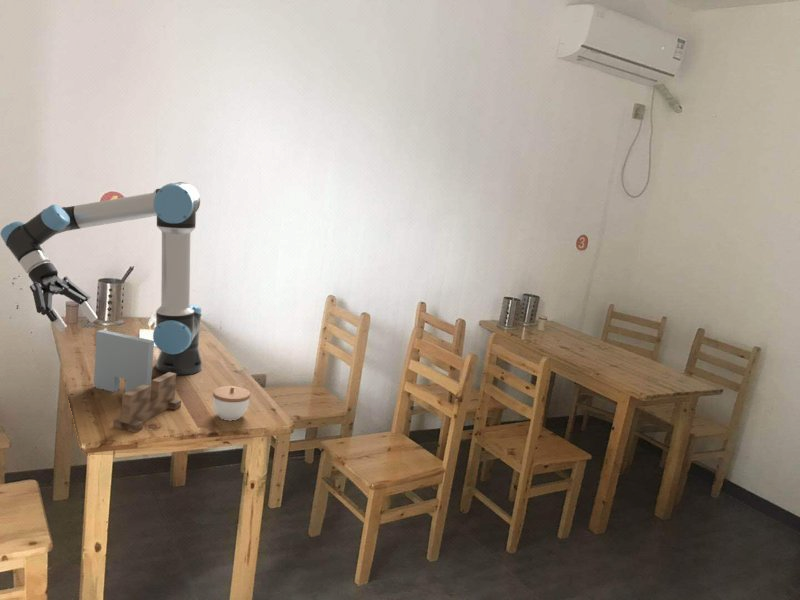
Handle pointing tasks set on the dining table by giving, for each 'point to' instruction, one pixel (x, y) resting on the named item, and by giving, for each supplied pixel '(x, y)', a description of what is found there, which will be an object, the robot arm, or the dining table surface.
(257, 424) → the dining table surface
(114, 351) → the slotted plate
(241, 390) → the lidded jar
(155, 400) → the walnut board
